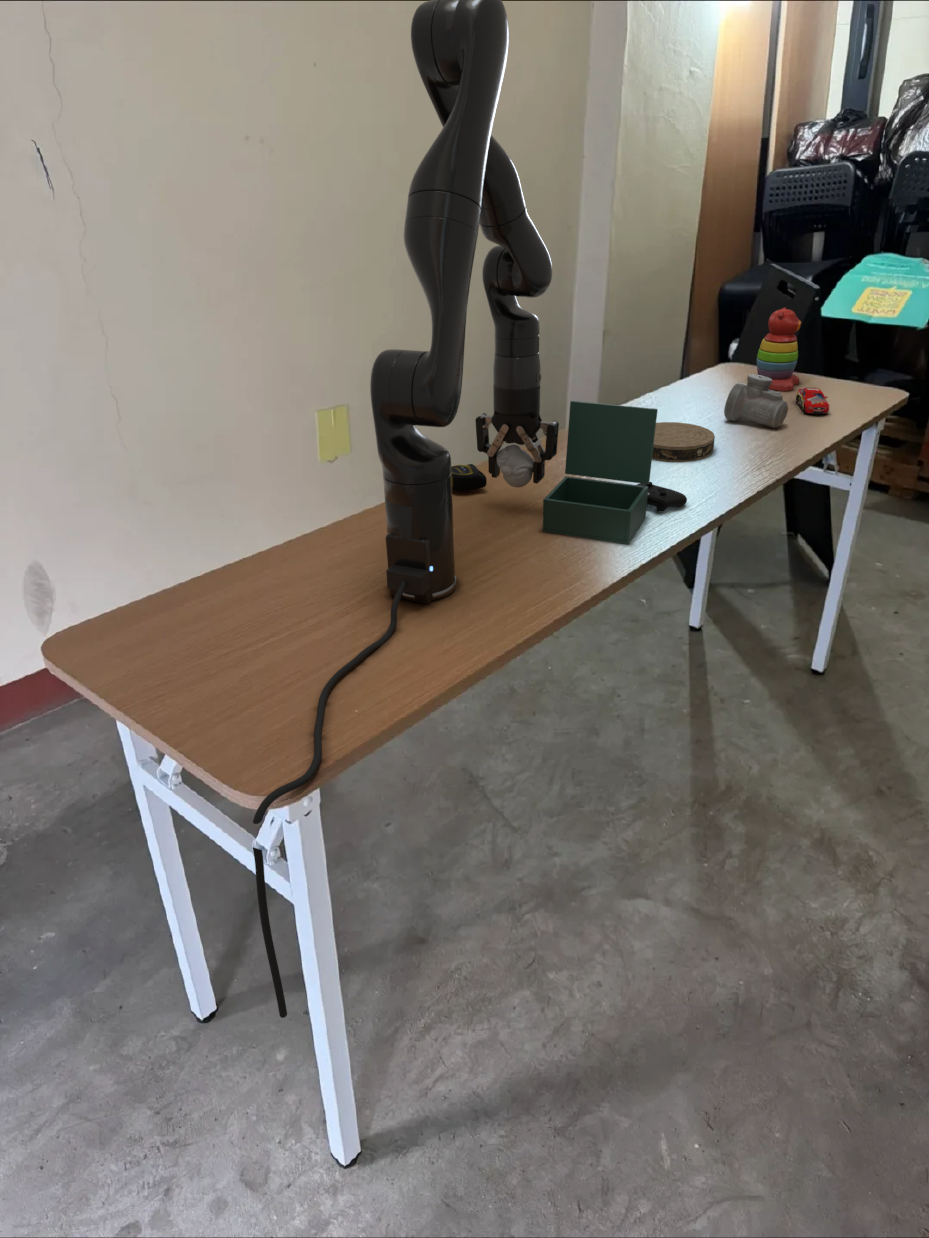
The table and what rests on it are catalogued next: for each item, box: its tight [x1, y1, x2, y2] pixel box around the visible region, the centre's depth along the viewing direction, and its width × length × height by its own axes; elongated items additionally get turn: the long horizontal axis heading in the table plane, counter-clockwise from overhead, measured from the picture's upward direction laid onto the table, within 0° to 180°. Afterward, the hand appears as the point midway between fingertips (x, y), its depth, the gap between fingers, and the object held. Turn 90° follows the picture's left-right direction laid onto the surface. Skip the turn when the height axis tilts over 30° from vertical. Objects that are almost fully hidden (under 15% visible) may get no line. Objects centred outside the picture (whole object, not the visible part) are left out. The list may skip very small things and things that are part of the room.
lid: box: [564, 400, 658, 484], centre depth 141 cm, size 12×14×1 cm
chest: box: [542, 475, 648, 545], centre depth 141 cm, size 11×14×6 cm
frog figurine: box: [497, 443, 535, 488], centre depth 145 cm, size 6×7×7 cm
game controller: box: [636, 481, 688, 513], centre depth 148 cm, size 10×5×6 cm
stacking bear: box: [756, 307, 802, 392], centre depth 209 cm, size 11×10×18 cm
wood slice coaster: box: [652, 421, 716, 463], centre depth 173 cm, size 16×16×3 cm
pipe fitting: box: [723, 373, 789, 429], centre depth 184 cm, size 12×8×10 cm
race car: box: [795, 387, 830, 415], centre depth 194 cm, size 13×5×4 cm, turn 171°
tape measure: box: [451, 463, 488, 493], centre depth 157 cm, size 7×7×4 cm
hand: (516, 478), depth 146 cm, fingers closed on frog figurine, 7 cm apart
